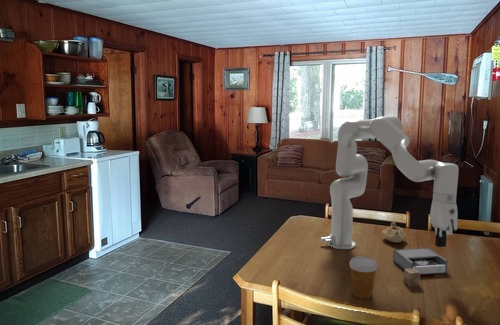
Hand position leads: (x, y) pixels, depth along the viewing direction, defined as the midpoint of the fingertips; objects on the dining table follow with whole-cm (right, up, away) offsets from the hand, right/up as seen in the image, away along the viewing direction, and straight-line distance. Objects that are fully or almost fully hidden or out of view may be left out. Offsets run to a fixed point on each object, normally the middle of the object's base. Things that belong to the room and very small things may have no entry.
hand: (440, 246), depth 146 cm
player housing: (-1, -12, +15) cm, 19 cm away
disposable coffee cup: (-31, -15, -7) cm, 35 cm away
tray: (-1, -11, +14) cm, 18 cm away
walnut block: (-10, -14, 0) cm, 17 cm away
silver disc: (-1, -10, +15) cm, 18 cm away
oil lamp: (0, -8, +45) cm, 46 cm away
